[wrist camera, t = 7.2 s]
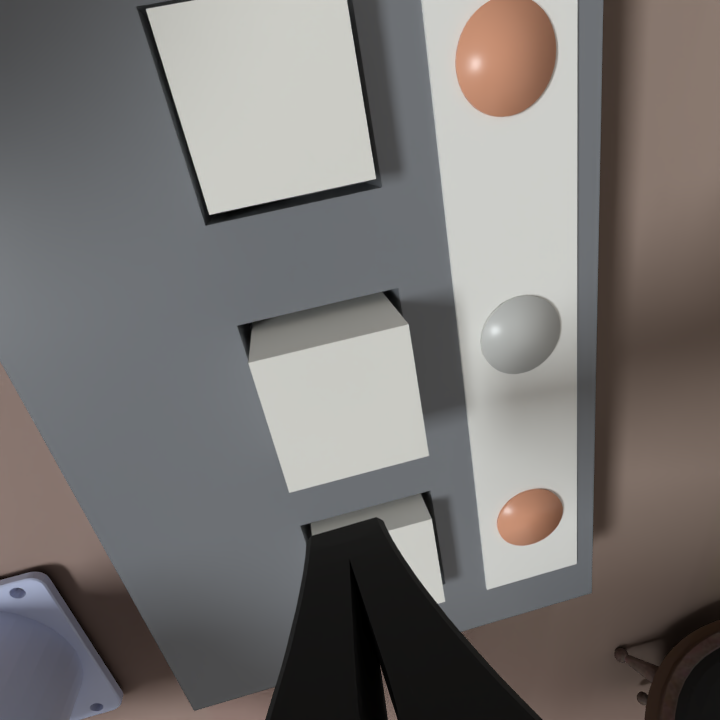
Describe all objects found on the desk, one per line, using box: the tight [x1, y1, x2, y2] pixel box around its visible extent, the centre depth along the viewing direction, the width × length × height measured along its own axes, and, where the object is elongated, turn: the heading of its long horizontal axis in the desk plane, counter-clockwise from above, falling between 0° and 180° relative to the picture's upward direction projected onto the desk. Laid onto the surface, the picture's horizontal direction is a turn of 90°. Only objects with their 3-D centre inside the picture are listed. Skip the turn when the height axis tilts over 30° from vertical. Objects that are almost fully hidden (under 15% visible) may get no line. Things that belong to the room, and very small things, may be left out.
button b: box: [248, 292, 429, 493], centre depth 13 cm, size 4×4×3 cm
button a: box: [311, 493, 445, 604], centre depth 17 cm, size 4×4×3 cm
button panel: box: [0, 0, 603, 711], centre depth 15 cm, size 16×24×3 cm, turn 11°
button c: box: [146, 0, 376, 215], centre depth 11 cm, size 4×4×3 cm
